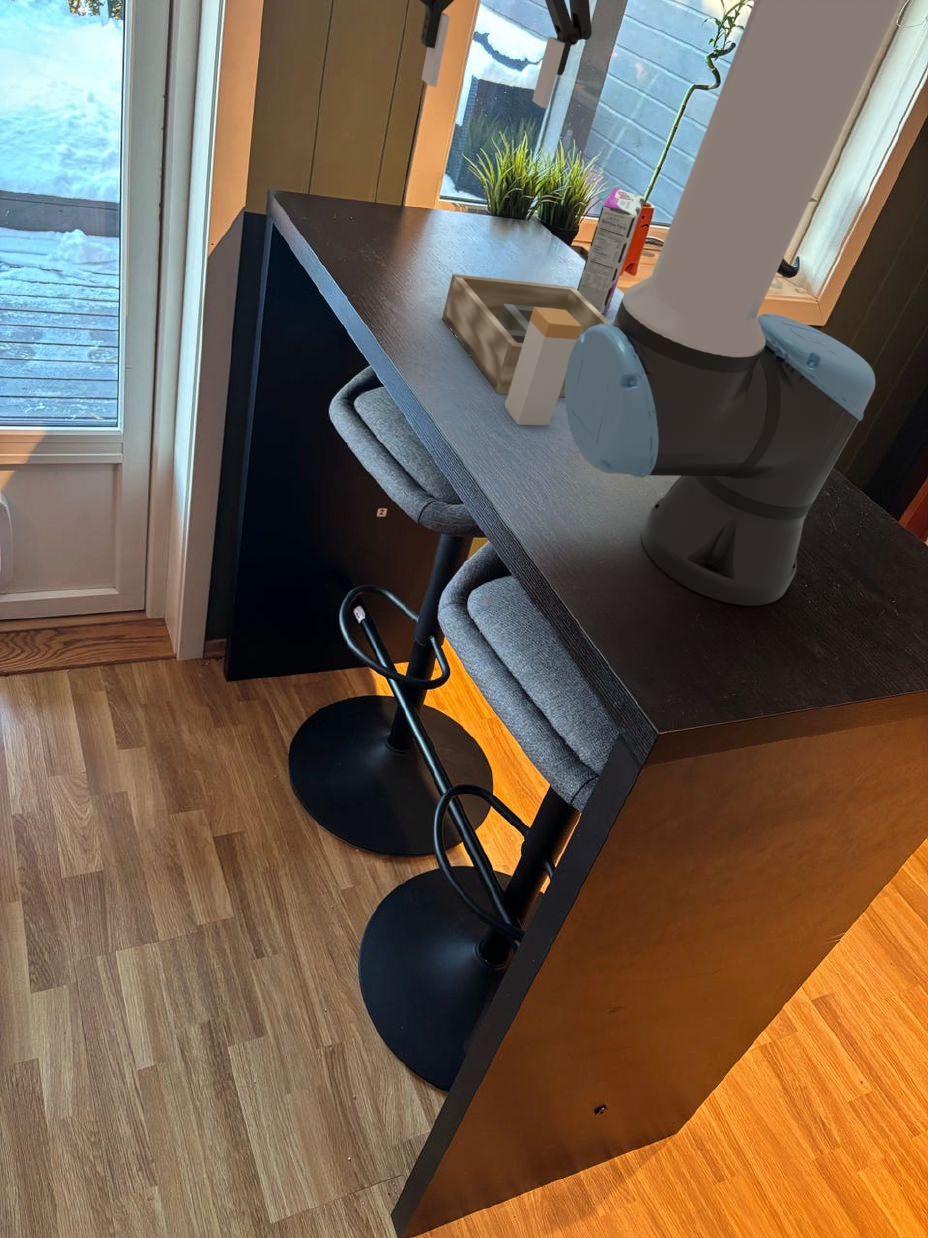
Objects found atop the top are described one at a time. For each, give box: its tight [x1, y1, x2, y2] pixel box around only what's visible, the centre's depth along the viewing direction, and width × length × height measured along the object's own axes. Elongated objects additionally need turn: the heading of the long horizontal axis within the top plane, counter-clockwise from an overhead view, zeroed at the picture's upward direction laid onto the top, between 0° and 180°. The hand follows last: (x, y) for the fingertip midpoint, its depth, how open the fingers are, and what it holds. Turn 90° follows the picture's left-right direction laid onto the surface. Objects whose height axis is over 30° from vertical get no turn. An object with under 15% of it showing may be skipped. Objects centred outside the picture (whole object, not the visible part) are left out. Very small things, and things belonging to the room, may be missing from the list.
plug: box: [504, 307, 582, 427], centre depth 105 cm, size 4×4×12 cm
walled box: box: [441, 273, 612, 398], centre depth 120 cm, size 20×18×6 cm
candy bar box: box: [576, 187, 646, 318], centre depth 135 cm, size 11×5×16 cm, turn 164°
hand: (485, 94), depth 105 cm, fingers open, 13 cm apart
